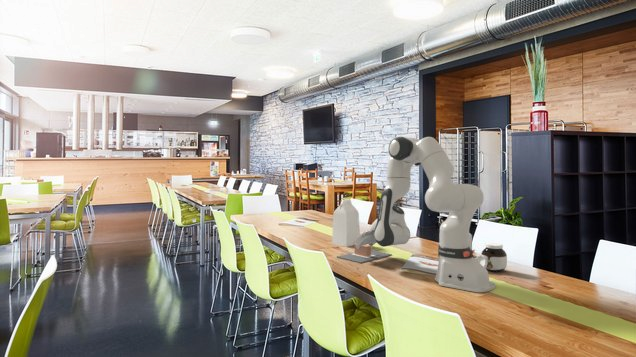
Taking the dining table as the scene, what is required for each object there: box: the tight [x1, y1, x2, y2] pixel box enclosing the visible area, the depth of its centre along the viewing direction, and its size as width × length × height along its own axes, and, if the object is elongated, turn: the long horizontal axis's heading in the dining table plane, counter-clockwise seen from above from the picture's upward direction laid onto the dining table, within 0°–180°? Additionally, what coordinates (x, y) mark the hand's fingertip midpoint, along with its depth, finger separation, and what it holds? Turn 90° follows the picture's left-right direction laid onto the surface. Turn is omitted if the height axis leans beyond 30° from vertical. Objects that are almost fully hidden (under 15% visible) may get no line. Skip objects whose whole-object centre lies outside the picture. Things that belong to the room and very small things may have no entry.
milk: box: [331, 198, 361, 247], centre depth 233 cm, size 12×12×26 cm
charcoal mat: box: [336, 249, 393, 264], centre depth 202 cm, size 16×24×1 cm, turn 133°
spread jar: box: [474, 242, 508, 273], centre depth 175 cm, size 12×11×12 cm
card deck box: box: [354, 244, 372, 257], centre depth 203 cm, size 4×5×8 cm
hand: (363, 246), depth 202 cm, fingers open, 8 cm apart
